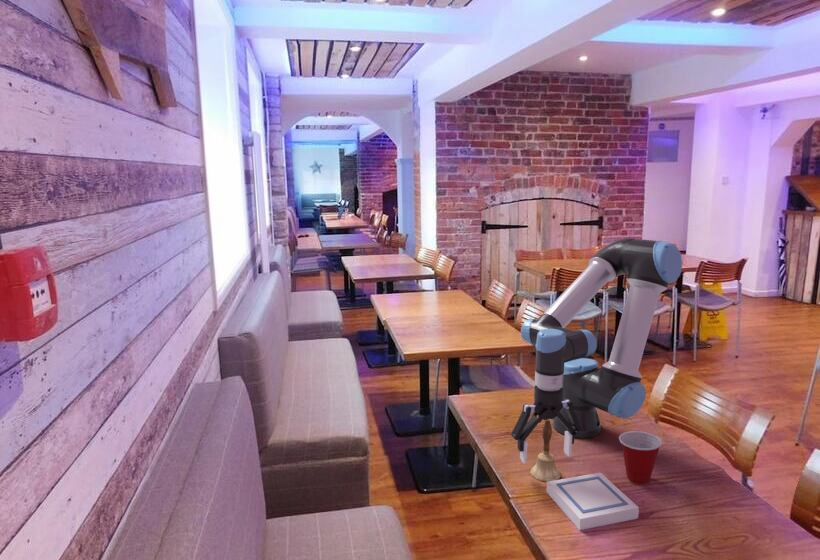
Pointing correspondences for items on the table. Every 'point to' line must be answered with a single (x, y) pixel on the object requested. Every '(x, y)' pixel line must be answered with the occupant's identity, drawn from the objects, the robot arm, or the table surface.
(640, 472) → the plastic cup
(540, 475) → the hand bell
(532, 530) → the table surface
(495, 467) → the table surface
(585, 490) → the display board
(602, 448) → the table surface
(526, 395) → the table surface
